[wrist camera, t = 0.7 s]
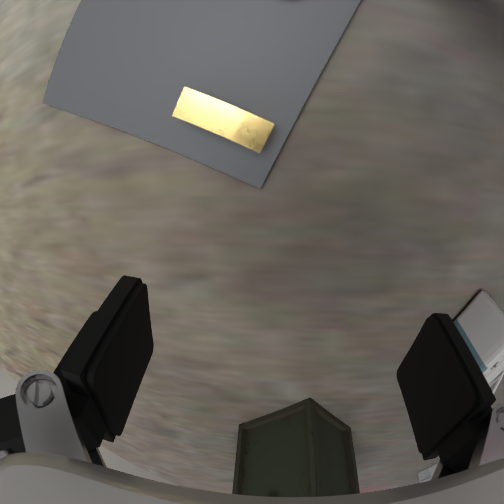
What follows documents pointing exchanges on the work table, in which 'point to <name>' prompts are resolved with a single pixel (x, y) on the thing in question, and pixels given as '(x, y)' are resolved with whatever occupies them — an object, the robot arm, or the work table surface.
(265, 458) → the first aid box
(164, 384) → the work table surface
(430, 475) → the light bulb box
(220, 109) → the strip
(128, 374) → the robot arm
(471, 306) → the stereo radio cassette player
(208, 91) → the base plate
